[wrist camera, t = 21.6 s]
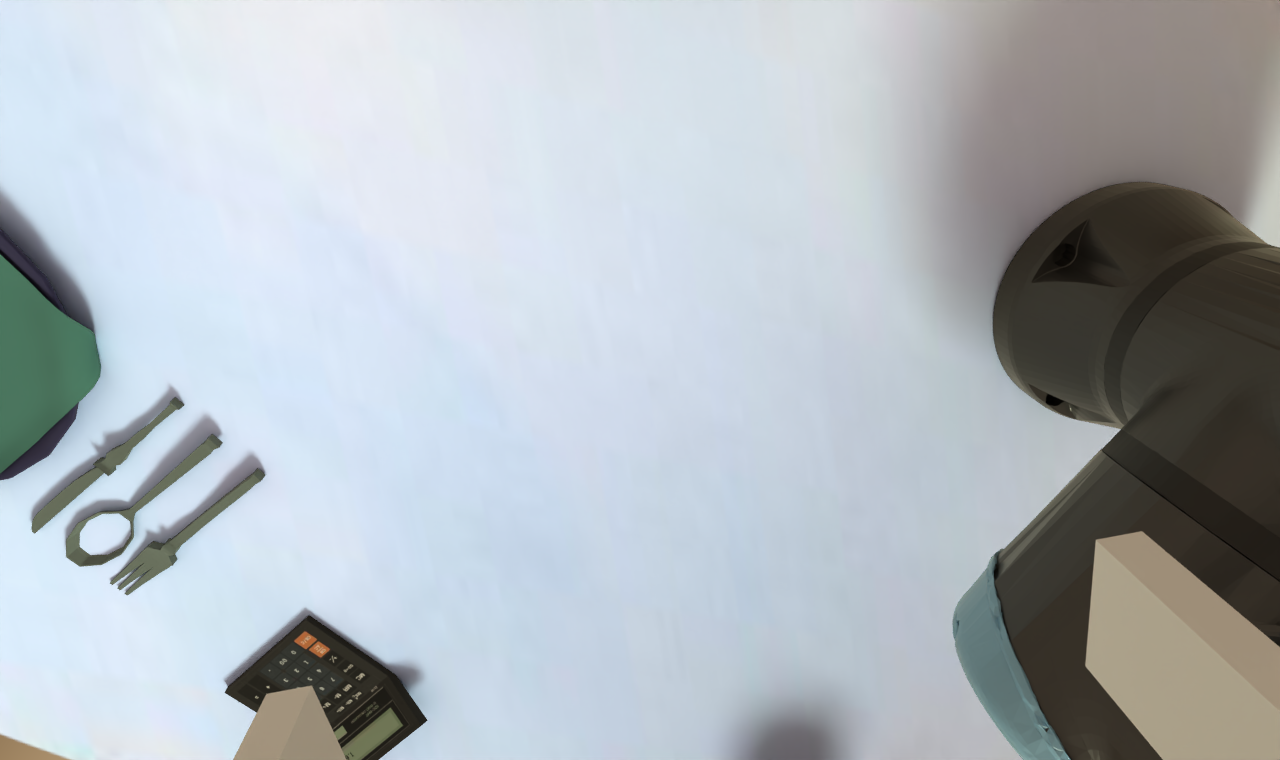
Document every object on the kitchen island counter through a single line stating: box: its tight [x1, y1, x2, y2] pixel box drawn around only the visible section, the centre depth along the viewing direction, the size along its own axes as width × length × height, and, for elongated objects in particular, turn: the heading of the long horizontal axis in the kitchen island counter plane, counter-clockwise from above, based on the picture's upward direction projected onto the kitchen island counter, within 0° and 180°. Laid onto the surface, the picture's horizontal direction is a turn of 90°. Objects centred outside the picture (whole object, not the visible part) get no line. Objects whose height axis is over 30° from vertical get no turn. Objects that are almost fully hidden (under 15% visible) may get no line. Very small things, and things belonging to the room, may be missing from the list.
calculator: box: [225, 616, 427, 760], centre depth 56 cm, size 9×12×3 cm
